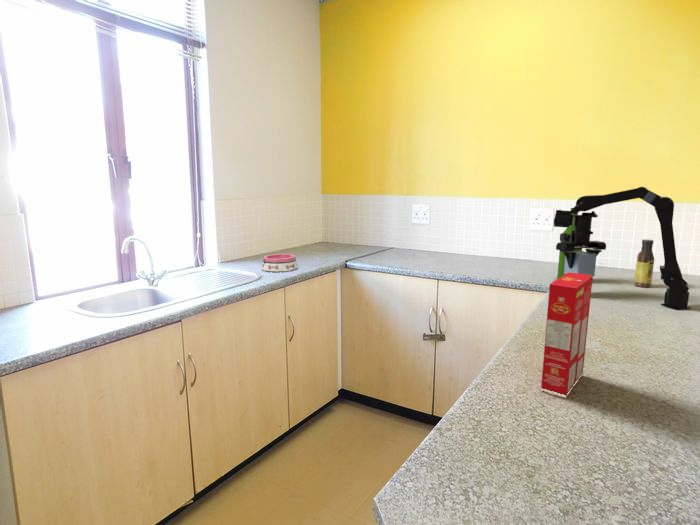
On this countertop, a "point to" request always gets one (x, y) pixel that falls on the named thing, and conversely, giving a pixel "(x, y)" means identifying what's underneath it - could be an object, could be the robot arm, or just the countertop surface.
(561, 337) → the food packaging
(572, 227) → the wine bottle
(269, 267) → the dog bowl
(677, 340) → the countertop surface
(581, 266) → the grey-blue cube
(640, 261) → the sauce bottle
